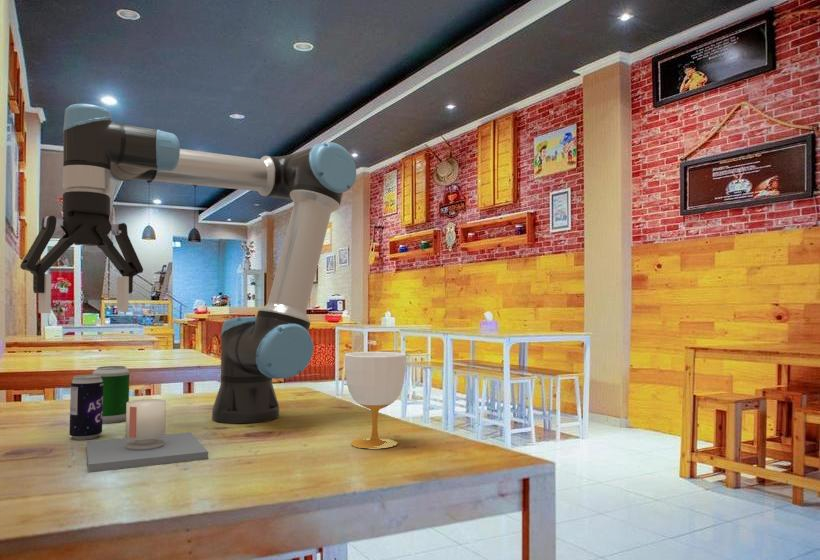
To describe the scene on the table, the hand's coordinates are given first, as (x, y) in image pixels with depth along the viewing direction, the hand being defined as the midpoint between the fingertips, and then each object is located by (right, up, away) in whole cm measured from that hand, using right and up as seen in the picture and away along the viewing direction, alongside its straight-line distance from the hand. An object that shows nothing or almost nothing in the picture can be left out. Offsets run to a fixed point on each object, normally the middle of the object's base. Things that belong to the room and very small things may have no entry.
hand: (85, 312), depth 108 cm
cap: (+11, -22, -1) cm, 24 cm away
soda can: (-10, -26, +29) cm, 40 cm away
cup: (+51, -26, +7) cm, 57 cm away
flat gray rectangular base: (+11, -25, -1) cm, 27 cm away
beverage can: (-6, -25, +11) cm, 29 cm away
